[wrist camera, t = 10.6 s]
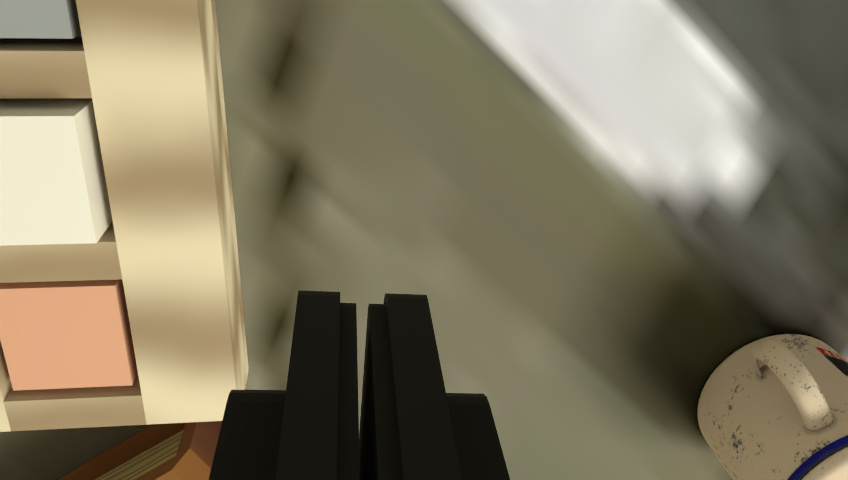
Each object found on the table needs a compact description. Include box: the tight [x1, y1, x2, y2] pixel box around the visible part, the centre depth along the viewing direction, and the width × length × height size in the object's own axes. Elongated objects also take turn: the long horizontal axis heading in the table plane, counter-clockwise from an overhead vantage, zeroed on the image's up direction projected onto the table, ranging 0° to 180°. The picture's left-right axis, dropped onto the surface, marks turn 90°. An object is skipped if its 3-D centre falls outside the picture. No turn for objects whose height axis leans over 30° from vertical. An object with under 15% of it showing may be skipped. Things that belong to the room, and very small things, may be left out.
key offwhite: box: [0, 99, 113, 246], centre depth 28 cm, size 5×5×2 cm
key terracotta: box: [0, 279, 138, 391], centre depth 32 cm, size 5×5×2 cm
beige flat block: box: [0, 0, 249, 432], centre depth 29 cm, size 24×14×4 cm, turn 178°
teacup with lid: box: [697, 334, 848, 480], centre depth 36 cm, size 12×9×12 cm
